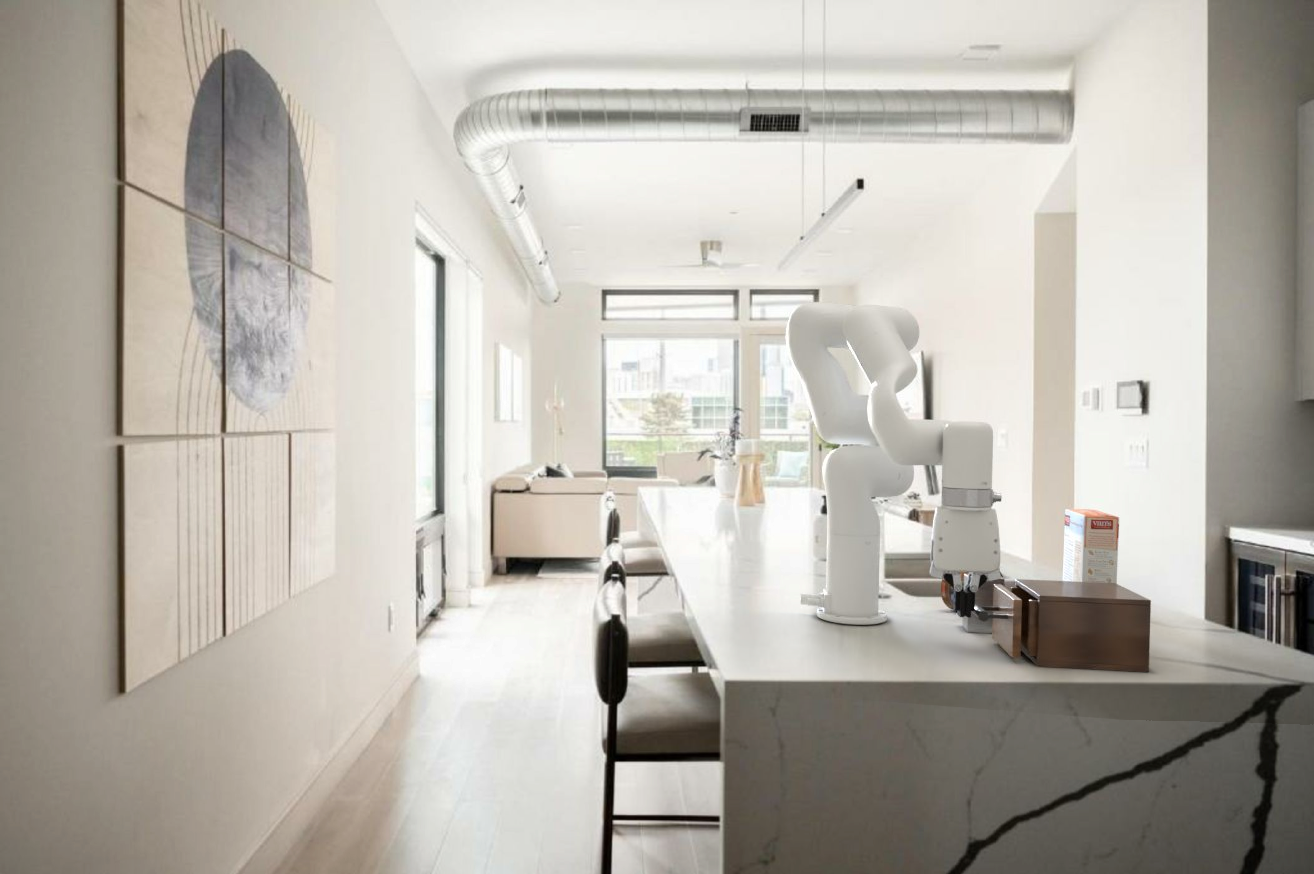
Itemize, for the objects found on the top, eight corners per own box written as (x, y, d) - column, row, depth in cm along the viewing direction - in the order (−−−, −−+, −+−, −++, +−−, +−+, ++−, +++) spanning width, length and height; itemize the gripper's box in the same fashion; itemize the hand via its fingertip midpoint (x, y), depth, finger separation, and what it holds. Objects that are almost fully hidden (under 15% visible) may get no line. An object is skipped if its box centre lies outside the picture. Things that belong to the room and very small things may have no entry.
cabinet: (1037, 666, 137) (1039, 595, 136) (1013, 643, 151) (1015, 579, 151) (1149, 672, 135) (1151, 600, 134) (1113, 648, 149) (1115, 583, 149)
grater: (967, 632, 159) (968, 568, 158) (962, 627, 163) (964, 565, 162) (1003, 633, 158) (1004, 570, 158) (997, 628, 162) (999, 566, 162)
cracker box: (1117, 639, 155) (1121, 516, 155) (1079, 637, 156) (1082, 514, 156) (1095, 622, 169) (1098, 508, 168) (1060, 620, 170) (1063, 507, 170)
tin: (949, 613, 174) (950, 569, 174) (937, 610, 177) (938, 567, 177) (1005, 607, 181) (1006, 565, 181) (993, 604, 184) (994, 562, 183)
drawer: (981, 656, 138) (983, 598, 138) (964, 636, 152) (965, 583, 151) (1114, 663, 136) (1116, 604, 136) (1085, 642, 149) (1086, 588, 149)
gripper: (1010, 499, 147) (1007, 613, 148) (914, 496, 150) (912, 608, 150) (1021, 503, 140) (1019, 622, 140) (920, 500, 142) (918, 618, 142)
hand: (963, 615), depth 145 cm, fingers closed
